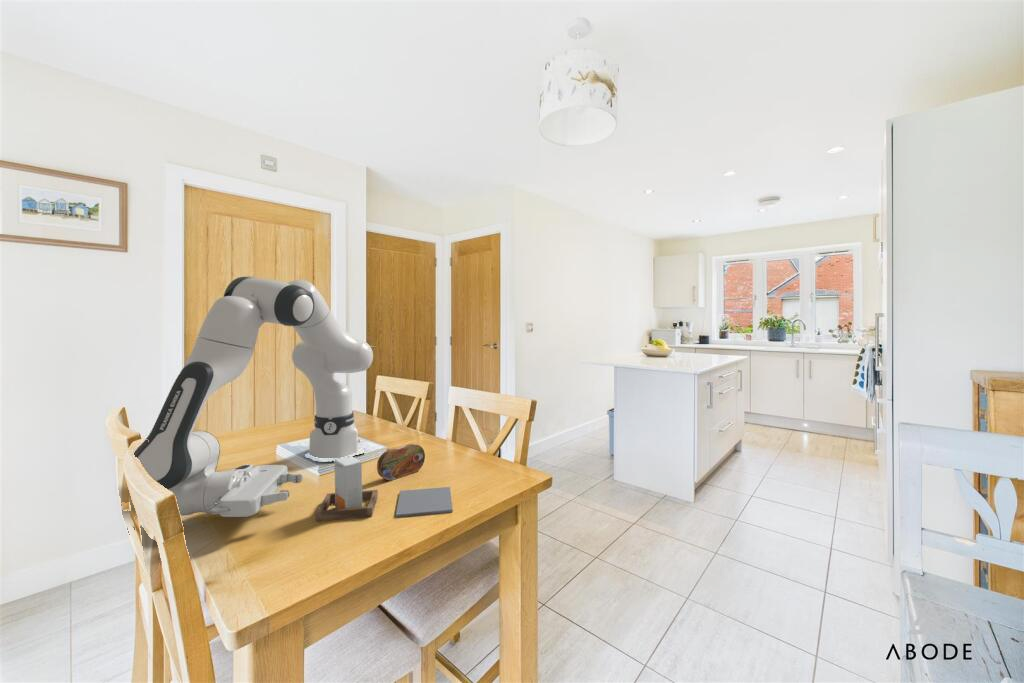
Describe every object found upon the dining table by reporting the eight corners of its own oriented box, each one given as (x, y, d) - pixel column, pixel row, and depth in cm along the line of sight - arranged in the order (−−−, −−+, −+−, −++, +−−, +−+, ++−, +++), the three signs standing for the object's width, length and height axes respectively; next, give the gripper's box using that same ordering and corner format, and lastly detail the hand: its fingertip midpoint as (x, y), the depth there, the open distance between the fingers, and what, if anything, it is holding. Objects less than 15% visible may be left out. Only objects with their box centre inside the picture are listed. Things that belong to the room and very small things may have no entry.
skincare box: (334, 507, 95) (333, 459, 94) (351, 501, 98) (351, 454, 97) (345, 516, 91) (344, 465, 90) (363, 509, 94) (362, 461, 93)
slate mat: (400, 493, 103) (400, 490, 103) (449, 489, 106) (449, 486, 106) (395, 517, 90) (395, 514, 90) (452, 512, 93) (452, 509, 93)
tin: (381, 484, 109) (381, 454, 108) (375, 481, 111) (375, 452, 110) (425, 469, 120) (425, 442, 120) (419, 466, 122) (419, 440, 122)
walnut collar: (327, 501, 98) (327, 493, 98) (377, 497, 101) (377, 489, 100) (316, 521, 88) (315, 512, 88) (371, 516, 91) (371, 508, 91)
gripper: (202, 498, 79) (278, 492, 81) (248, 461, 99) (308, 458, 101) (203, 528, 79) (278, 521, 82) (249, 486, 99) (308, 481, 102)
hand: (295, 486), depth 92 cm, fingers open, 8 cm apart
